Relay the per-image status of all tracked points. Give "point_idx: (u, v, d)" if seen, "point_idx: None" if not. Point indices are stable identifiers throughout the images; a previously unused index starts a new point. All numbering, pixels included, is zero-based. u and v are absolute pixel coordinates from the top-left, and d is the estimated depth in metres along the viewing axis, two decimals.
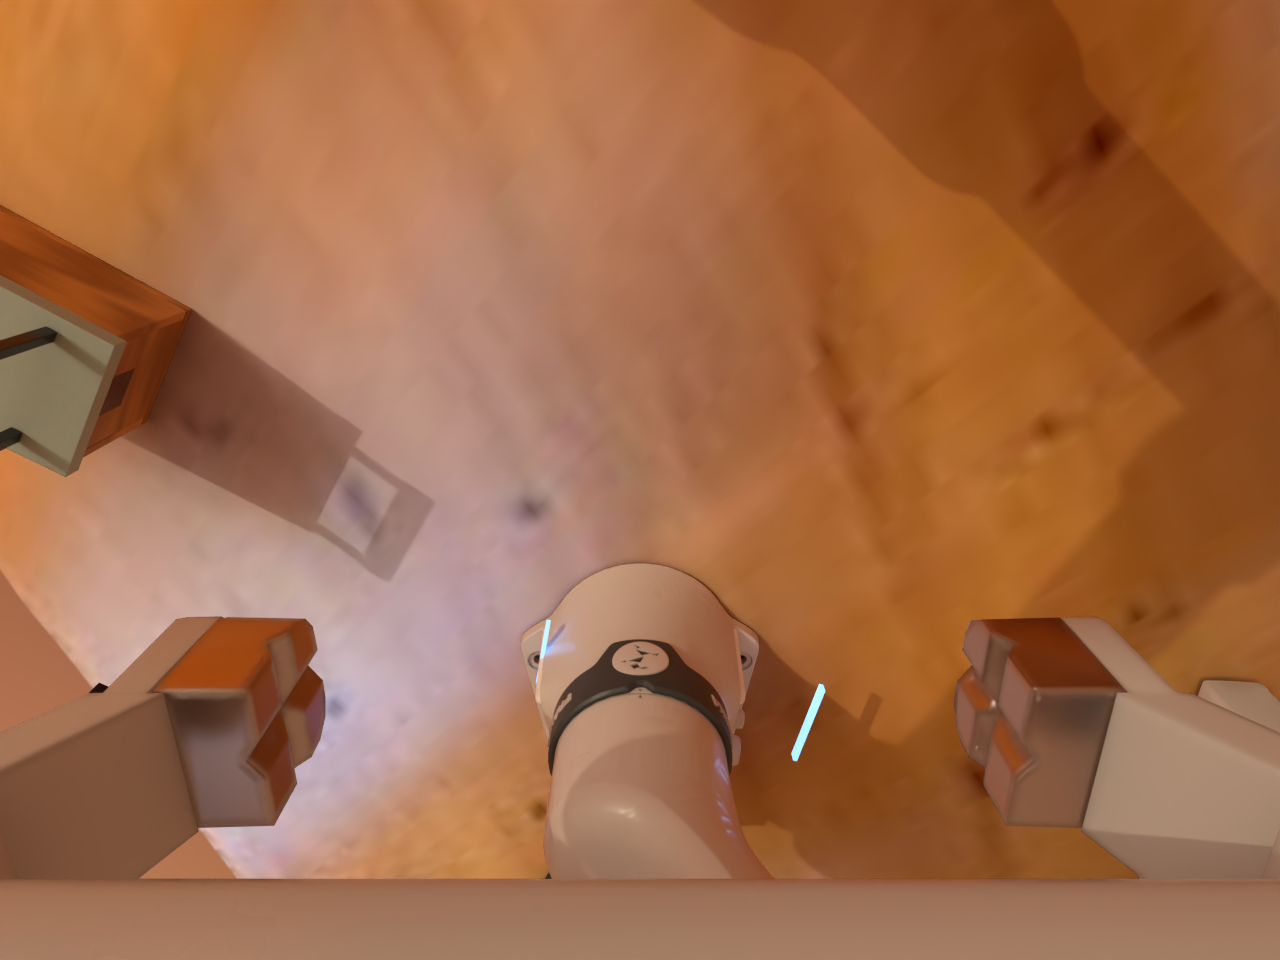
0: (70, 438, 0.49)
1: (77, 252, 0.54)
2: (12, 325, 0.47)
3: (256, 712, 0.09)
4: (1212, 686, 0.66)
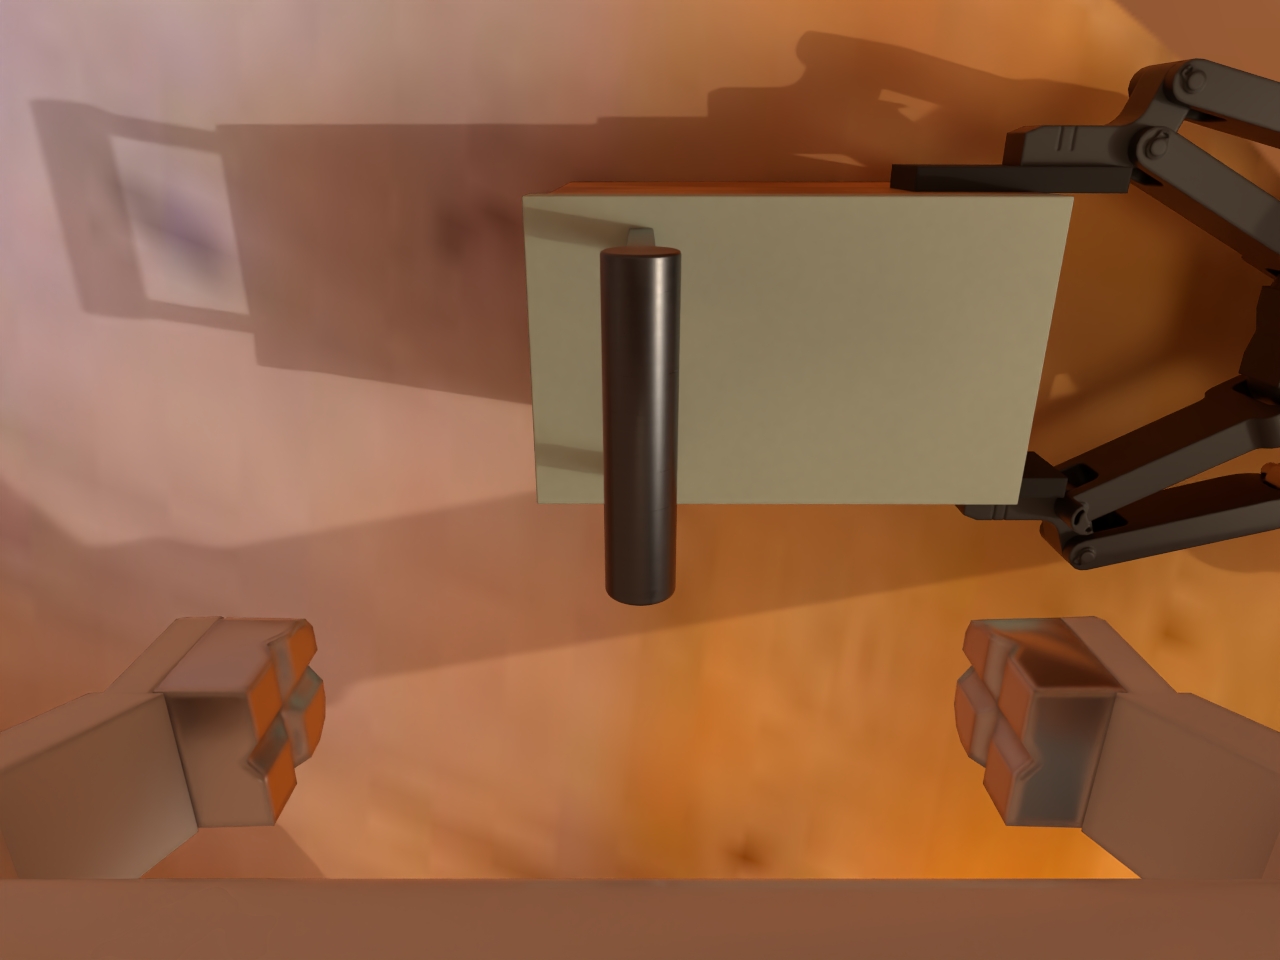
0: (543, 290, 0.24)
1: None
2: (703, 450, 0.26)
3: (256, 712, 0.09)
4: None
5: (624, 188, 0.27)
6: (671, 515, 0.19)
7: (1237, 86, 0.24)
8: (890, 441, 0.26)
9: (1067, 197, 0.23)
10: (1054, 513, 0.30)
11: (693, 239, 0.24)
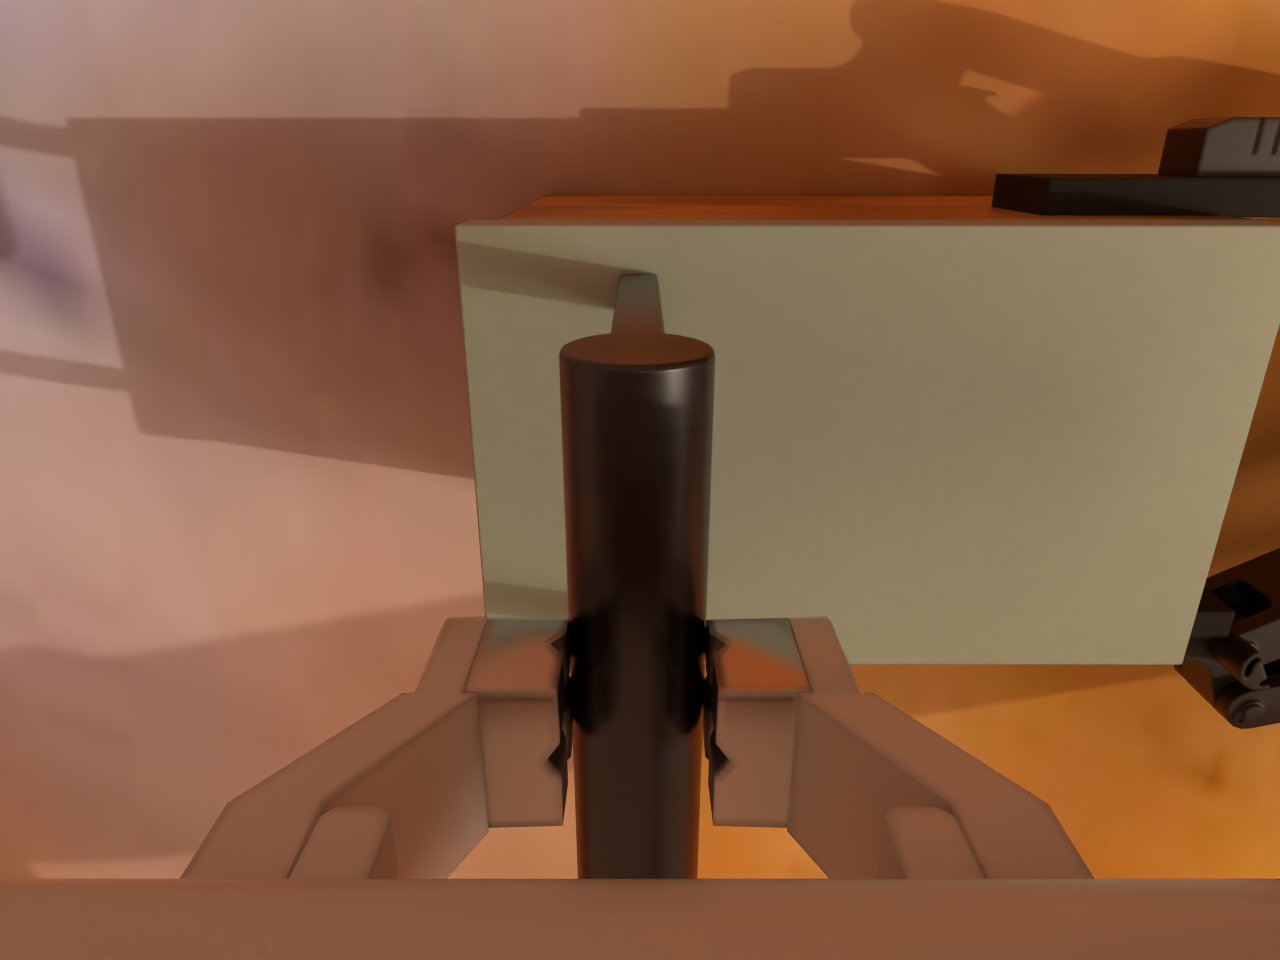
0: (490, 366, 0.16)
1: None
2: (729, 592, 0.18)
3: (559, 712, 0.09)
4: None
5: (615, 208, 0.19)
6: (692, 799, 0.11)
7: None
8: (1003, 579, 0.18)
9: None
10: (1207, 652, 0.22)
11: (719, 290, 0.15)
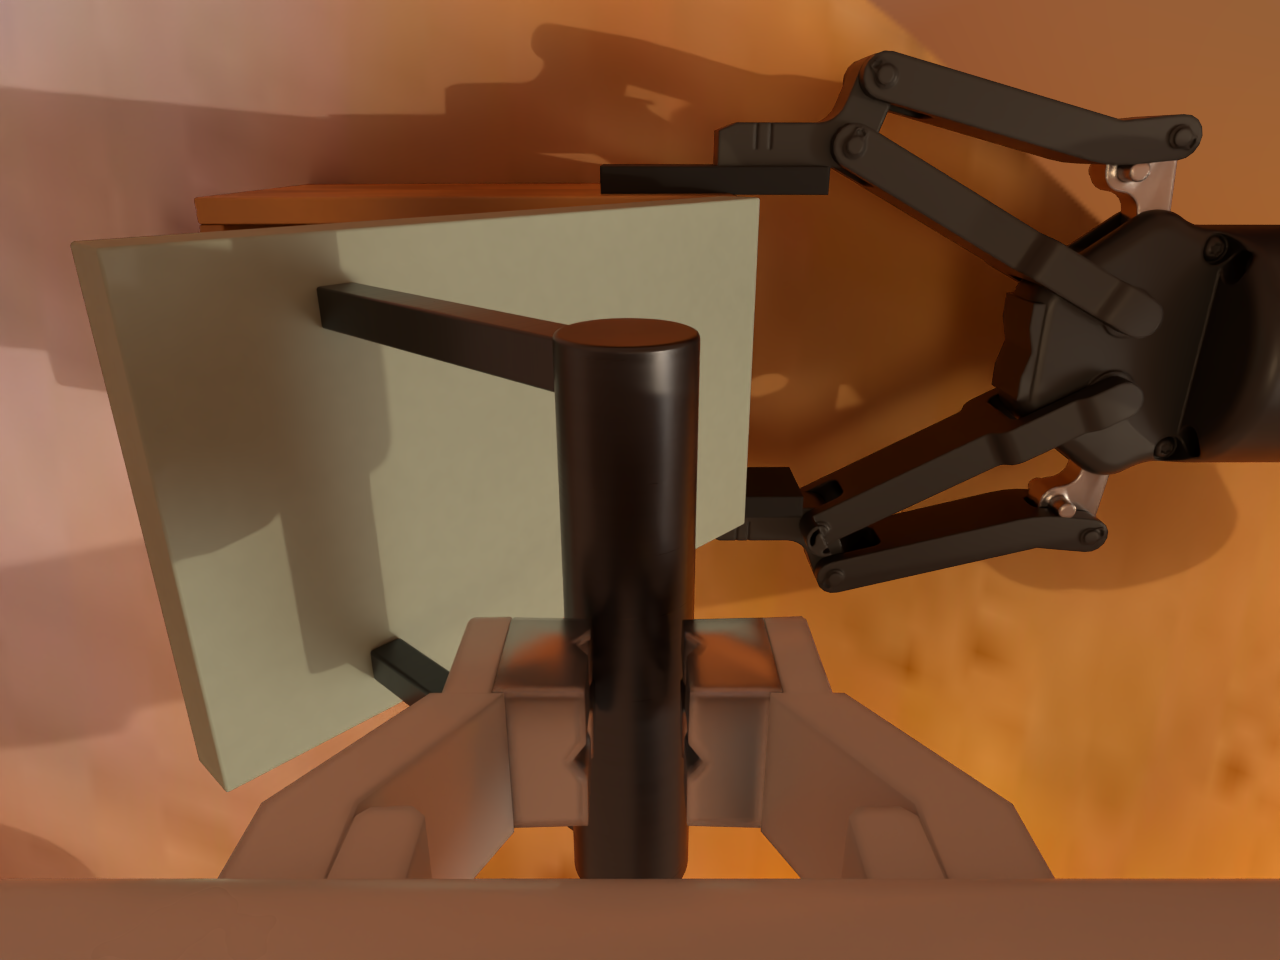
0: (175, 423, 0.13)
1: None
2: (464, 594, 0.18)
3: (586, 712, 0.09)
4: None
5: (314, 191, 0.26)
6: None
7: (932, 80, 0.23)
8: None
9: (756, 199, 0.22)
10: (800, 533, 0.28)
11: (413, 291, 0.15)
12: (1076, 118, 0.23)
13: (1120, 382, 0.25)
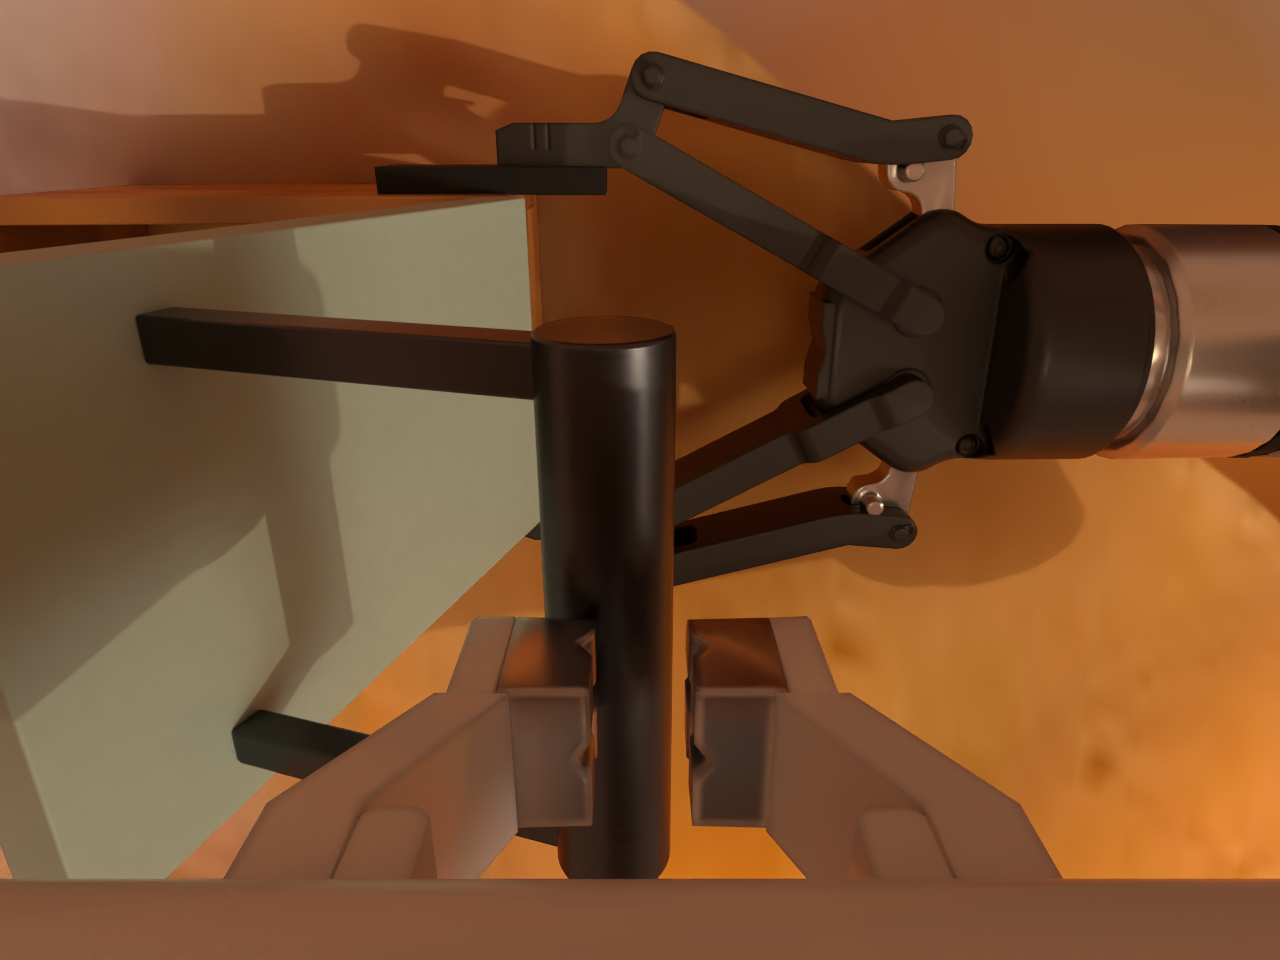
0: None
1: None
2: (316, 644, 0.16)
3: (589, 712, 0.09)
4: None
5: (104, 192, 0.25)
6: None
7: (700, 81, 0.23)
8: (466, 510, 0.21)
9: (522, 199, 0.22)
10: None
11: None
12: (846, 118, 0.23)
13: (910, 380, 0.26)
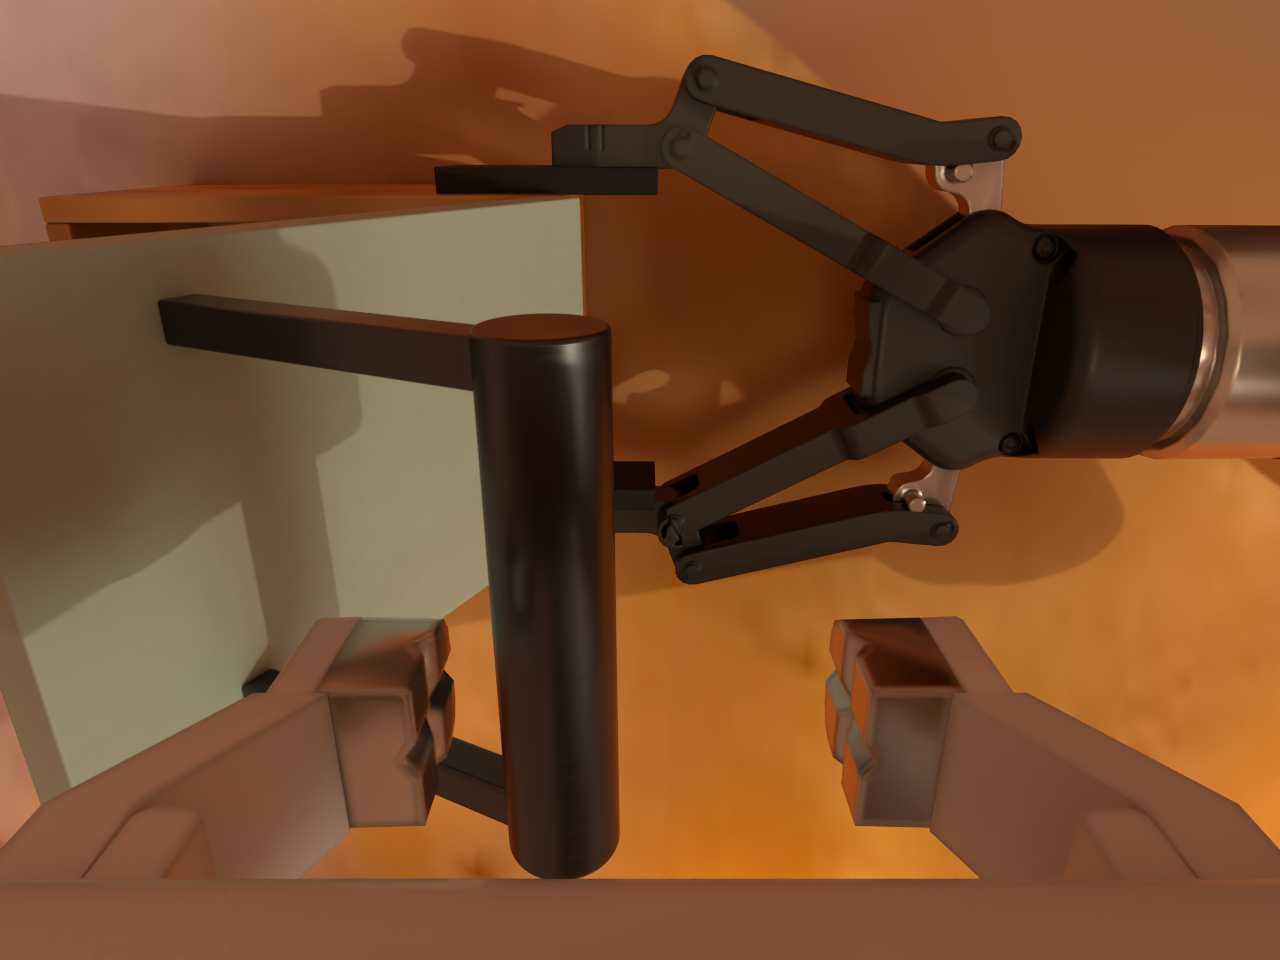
0: (9, 460, 0.11)
1: None
2: (333, 613, 0.17)
3: (414, 713, 0.09)
4: None
5: (172, 191, 0.26)
6: None
7: (752, 83, 0.23)
8: None
9: (576, 199, 0.22)
10: None
11: (261, 301, 0.14)
12: (896, 120, 0.24)
13: (955, 379, 0.26)
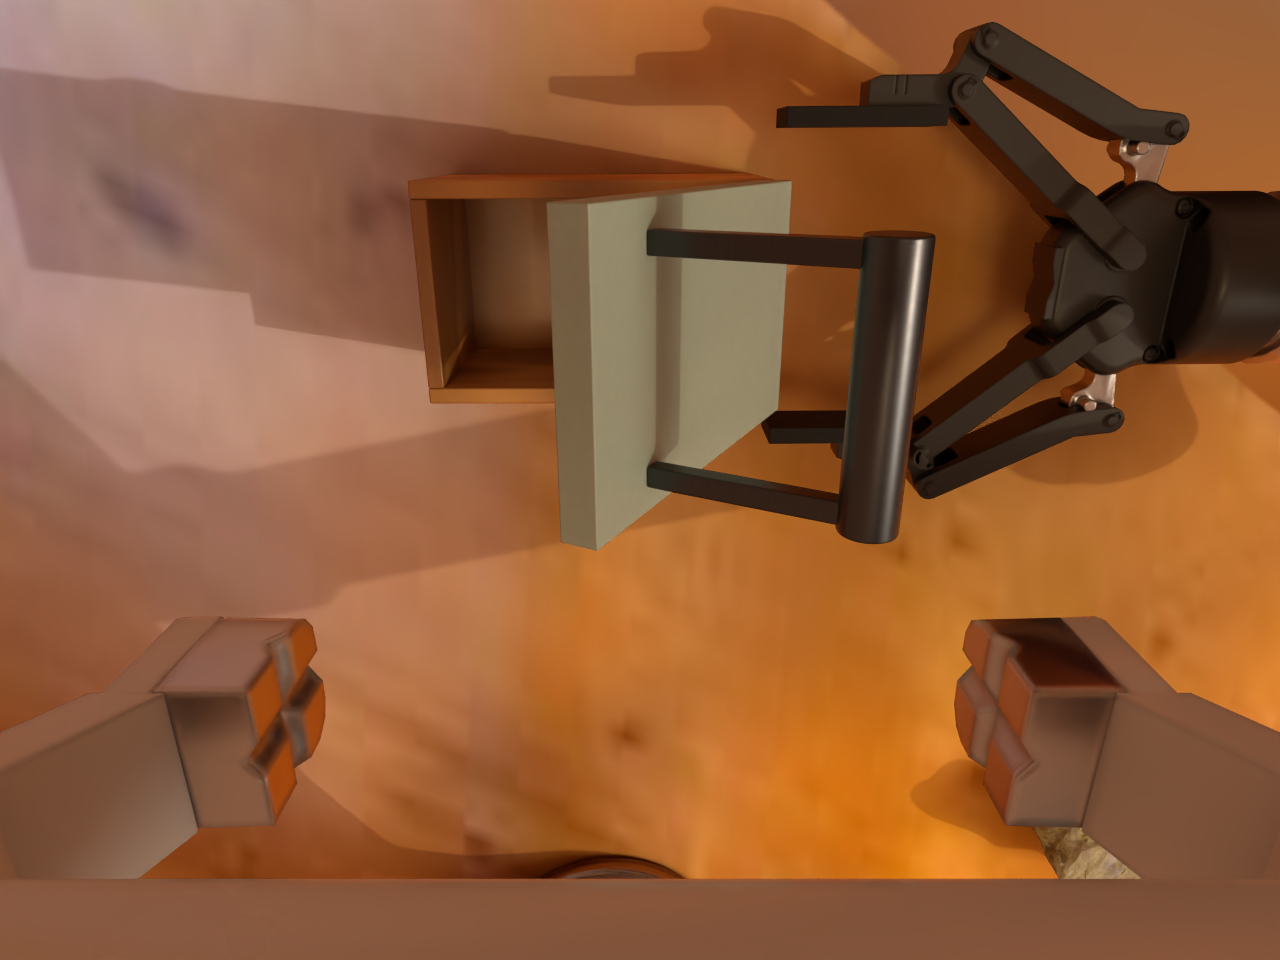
0: (601, 308, 0.21)
1: None
2: (678, 436, 0.27)
3: (256, 712, 0.09)
4: None
5: None
6: None
7: (1020, 50, 0.33)
8: (744, 385, 0.32)
9: (790, 181, 0.33)
10: None
11: None
12: (1109, 99, 0.33)
13: (1114, 304, 0.36)
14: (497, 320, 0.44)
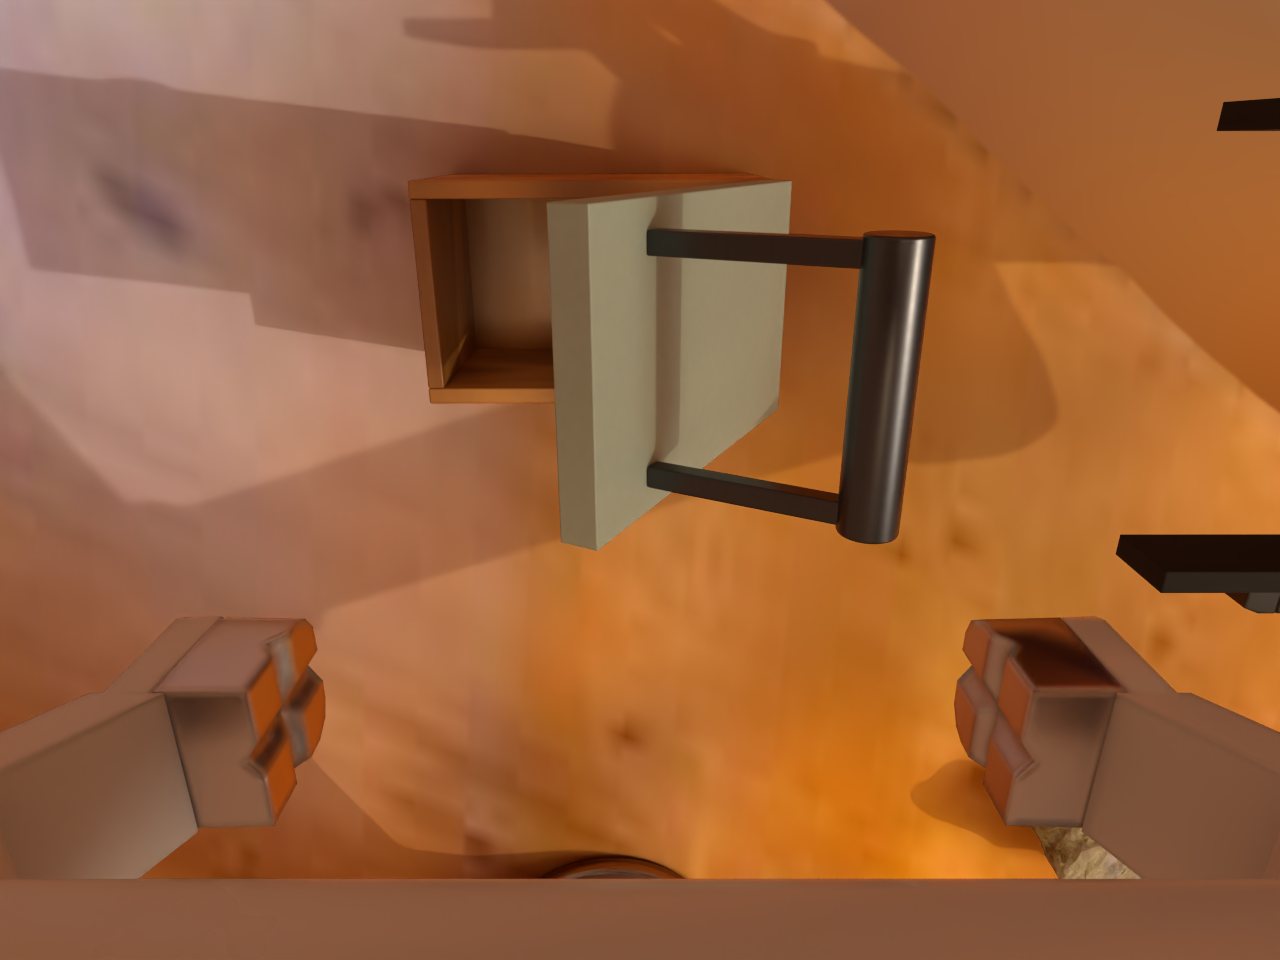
0: (601, 308, 0.21)
1: None
2: (678, 436, 0.27)
3: (256, 712, 0.09)
4: None
5: None
6: None
7: None
8: (744, 385, 0.32)
9: (790, 181, 0.33)
10: None
11: None
12: None
13: None
14: (497, 320, 0.44)
